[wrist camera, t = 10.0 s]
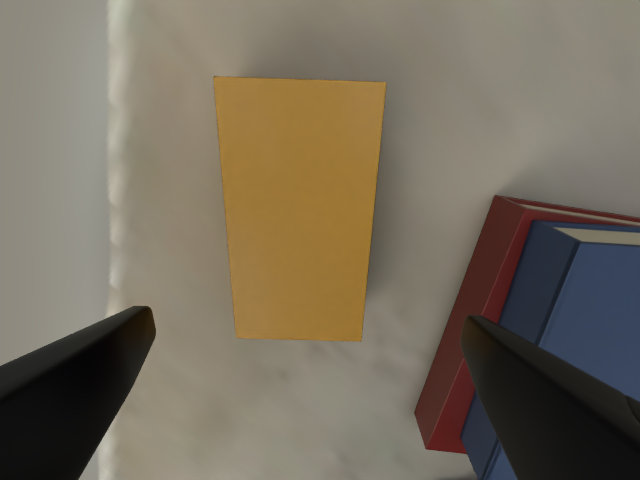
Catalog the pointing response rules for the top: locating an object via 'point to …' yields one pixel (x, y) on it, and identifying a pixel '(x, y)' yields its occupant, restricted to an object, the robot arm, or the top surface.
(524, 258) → the middle book
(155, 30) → the top surface
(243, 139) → the top book
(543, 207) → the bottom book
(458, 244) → the top surface
